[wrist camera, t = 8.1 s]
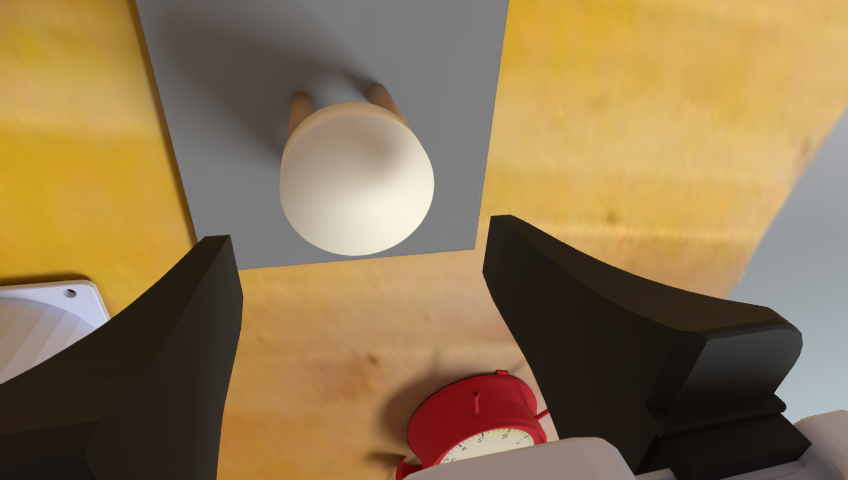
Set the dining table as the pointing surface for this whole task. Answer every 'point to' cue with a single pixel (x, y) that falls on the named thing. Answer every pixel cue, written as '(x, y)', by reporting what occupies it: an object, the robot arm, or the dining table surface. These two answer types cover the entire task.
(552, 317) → the robot arm
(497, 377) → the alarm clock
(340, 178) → the stool
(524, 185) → the dining table surface
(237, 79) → the mat
